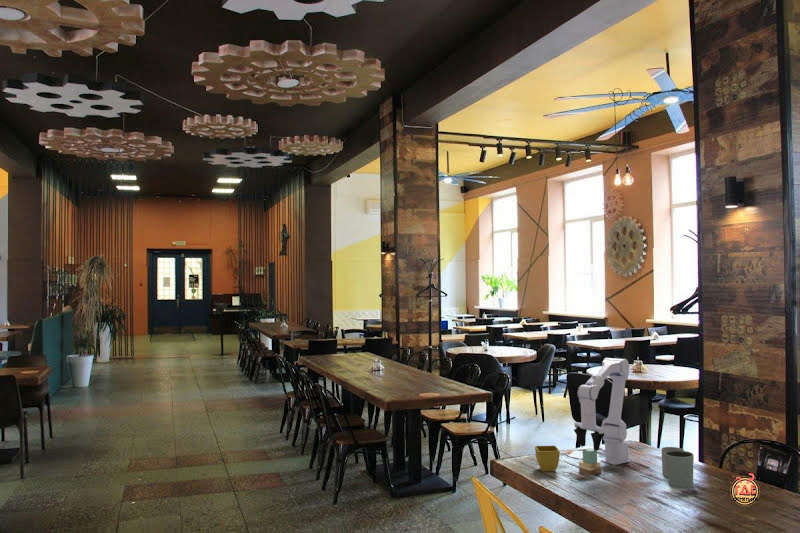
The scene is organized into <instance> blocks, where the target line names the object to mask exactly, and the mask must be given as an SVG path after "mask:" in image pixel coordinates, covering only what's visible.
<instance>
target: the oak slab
mask: <svg viewBox="0 0 800 533" xmlns="http://www.w3.org/2000/svg"><path fill="white" fill-rule="evenodd" d="M579 467H580V468H583V469H586V470H590V471H591V470H595V469H599V468H602V467H601V461H597V462H596V463H593V464H589V463H585V462H583V460H580V461H578V468H579Z"/></svg>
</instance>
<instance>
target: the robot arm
mask: <svg viewBox="0 0 800 533" xmlns="http://www.w3.org/2000/svg"><path fill="white" fill-rule="evenodd" d="M630 368H631V367H630V364H629V361H628V359H627V358H615V357H613V358H611V357H605V358H604V359H603V360H602V362H601V368H600V369H599V370H598V372H597V374H592V375H591V377H590V378H589V379H588V380H587V381H586V382H585V384H581V385H580V386H579V387H578V390H577V393H576V394H577V397H578V402H579V403H580V417H581V419H580V420H581V422H578V421H576V422H573V423H574V430H573V431H574V433H575V435H576V437H577V439H578V443H579V445H580V447H586V442H587V441H586V438H587V437H586V436H587V433H588V432H589V431H591V433H590V436H591V438H592V446H593V449H594V450H595V451H596V450H597V451H600V447H601V444H602V441H604V456H605V458H603V459H601V460H600V462H604V463H607V464H611V465H614V466H617V465H621V464H625V463H626V464H627V463H631V460H630V459H629V445H628V443H627V442H626V439H627V435H628V433H627V423H625V421H624V420H623V419H622V411H623V404H624V397H625V396H624V395H625V389H626V388H625V387H626V381H627V380H628V379H629V375H630V374H629V373H630ZM607 378H610V379H611V380H612V386H611V393H610V400H609V402H610V403H609V408H608V409H609V410H608V416H607V417H606V418H604V419H603V420H602V423H601V426H598V425H597V419H596V418H597V417H596V416H597V415H596V414H597V413H596V400H597V399H598V395H599V393H600V389H602V388H603V386H604V385H605V379H607ZM587 431H588V432H587Z"/></svg>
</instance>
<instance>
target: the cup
mask: <svg viewBox="0 0 800 533" xmlns="http://www.w3.org/2000/svg"><path fill="white" fill-rule="evenodd" d="M671 450H681V451H685V450H684V449H683V448H681V447H675V446H664V447H661V468H662V469H661V470H662V472H661V473H662V476H664V477H667V478H668V474H667V467H666V460H665V452H666V451H671Z"/></svg>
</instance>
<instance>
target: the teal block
mask: <svg viewBox="0 0 800 533" xmlns="http://www.w3.org/2000/svg"><path fill="white" fill-rule="evenodd" d="M582 461H583V462H585V463H589V464H593V463H596V462H598V450H596V451H595V450H594V448H591V447H587V448H584V449H582Z"/></svg>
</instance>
